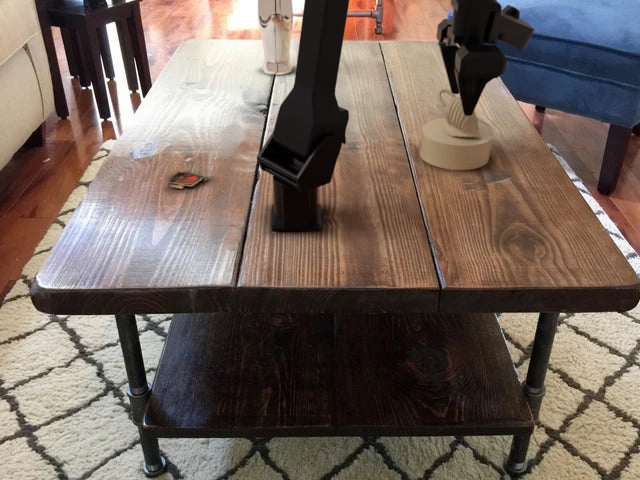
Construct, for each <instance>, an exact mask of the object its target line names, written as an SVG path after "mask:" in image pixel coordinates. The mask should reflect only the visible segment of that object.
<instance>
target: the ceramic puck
mask: <svg viewBox="0 0 640 480" xmlns="http://www.w3.org/2000/svg"><path fill="white" fill-rule="evenodd" d="M444 122H446V120H445V117H444V118H443V117H442V118H437V119H431V120H429V121H427V122H425V123H424V124H423V125H422V127H421V131H420V141H419V153H418V154H419V157H420V158H421V159H422V160H423V161H424V162H425V163H427V164H429V165H431V166H434V167H437V168H440V169H444V170H451V171H468V170H469V171H470V170H476V169H479V168H482V167H484V166H485V165H487V163H488V162H489V161H490V155H491V151H492V150H491V149H492V144H493V139H494V131H493V130H492V129H491V128H490V127H489V126H487V124H486V125H485V124H484V123H481V122H479V121H478V127H479V133H480V135H481V137H482V138H480V137H458V136H456V137H452V136H450V135H448V134H446V133H445V131H444V129H443V124H444Z"/></svg>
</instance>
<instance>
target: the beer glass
mask: <svg viewBox="0 0 640 480" xmlns="http://www.w3.org/2000/svg"><path fill="white" fill-rule="evenodd" d="M257 18H258V19H257V20H258V27H259V33H260V37H261V42H262V47H263V64H262V71H263V72H264V73H265V74H268V75H273V76H282V75H287V74H289V73H292V71H293V66H292V62H291V54H290V51H291V49H290V48H291V41H292V34H293V27H294V26H293V25H294V10H293V0H257Z"/></svg>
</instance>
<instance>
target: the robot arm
mask: <svg viewBox="0 0 640 480" xmlns="http://www.w3.org/2000/svg"><path fill="white" fill-rule="evenodd" d="M349 5H350V0H304V3H303V11H302V12H303V13H302V20H301V28H300V37H299V44H298V52H297V60H296V67H295V75H294V76H295V77H294V83H293V87H292V88H291V90H290V91H289V93H288V94H287V95H286V97H285V98H284V100H283V101H282V103H281V104H280V106H279V109H278V112H277V117H276V120H275V123H274V129H273V130H272V133H271V134H270V136H269V137H268V139H267V140H266V142H265V143H264V145H263V146H262V147H261V149H260V151H259V152H258V154H257V156H256V160H257V163H258V165H259V167H260V170H261V171H263V172H266V173H268V174H269V175H271V176H272V185H273V186H272V187H273V189H272V190H273V204H272V206H271V219H270V230H271V231H273V232H296V231H297V232H299V231H300V232H302V231H303V232H305V231H310V232H311V231H312V232H313V231H321V230H322V229H323V224H322V208H321V204H320V203H319V188H320V187H323V186H324V185H328V184H330V183H331V181H332V178H333V175H334V172H335V168H336V164H337V161H338V159H339V156H340V154H341V150H342V145H345V144H346V143H347V139H346V131H347V126H348V124H349V120H350V111H349V110H348V109H346V108H344V107H342V106H339V103H338V99H337V95H336V88H337V82H338V75H339V69H340V63H341V56H342V50H343V43H344V38H345V30H346V25H347V18H348V12H349ZM450 5H451V6H452V9H453V10H452V17H451V18H444V19H442V20H441V21H440V22H439V23H438V24H437V29H436V40H437V41H438V42H437V45H438V47H439V52H440V56H441V59H442V62H443V65H444V66H443V67H444V69H445V73H446V76H447V80H448V84H449V88H450V91H451V92H452V93H453V94H454V95H458V94H459V98H460V99H461V103H462V108H463V112H464V115H465V116H471V115H472V114H473V111H474V112H475V109H476V107H477V105H478V103H479V101H480V98H481V96H482V93H483V92H484V90H485V88H486V86H487V84H489V82H491V81H492V80H494V79H498V78H499V77H501V75H504V74H506V70H507V64H508V58H507V57H506V56H505V55H504V53H503V52H502V51H501V50H500V48H499V47H498V46H497V45H498V42H499V41H500V42H503V43H505V44H507V45H510V46H513V47H514V48H515V49H516V50H519V51H521V52H523V51H524V50H525V49H526V47H527V45H528V43H529V41H530V39H531V37H532V36H533V34H534V32H535V30H536V29H535V28H534V26H532V25H531V24H529V23H528V22H527V21H525V20H524V19H522V18H520V14H521V13H520V9H518V8H517V7H514V6H513V5H510V4H507V5H506V6H505V7H504V8H503V9H502V5H501V3H500V2H499V1H498V0H450ZM498 40H499V41H498Z"/></svg>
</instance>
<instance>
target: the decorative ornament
mask: <svg viewBox="0 0 640 480" xmlns="http://www.w3.org/2000/svg"><path fill="white" fill-rule="evenodd" d="M443 93H446V94H447V95H449V96H450V97H451V99H450V100H448V102H445V100H444V99H443V97H442V94H443ZM437 99H438V101H439V103H440V104H441V105H442V106H443V107H444V113H443V114H444V115H443V116H444V118H445V120H446V122H444V124H443V129H444V131H445V133H446V134H448V135H450V136H452V137H456V136H458V137H480V138H482V137H481V135H480V133H479V127H478V122H479V121H478V117H477V114H476V112H475V110H474V111H473V114H472V115H471V116H465V115H464V112H463V108H462V103H461V99H460V97H458V96H457V97H456V94H453V93H452V92H451V90H449V89H447V88H443V89H440V90H439V91H438V93H437Z"/></svg>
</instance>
